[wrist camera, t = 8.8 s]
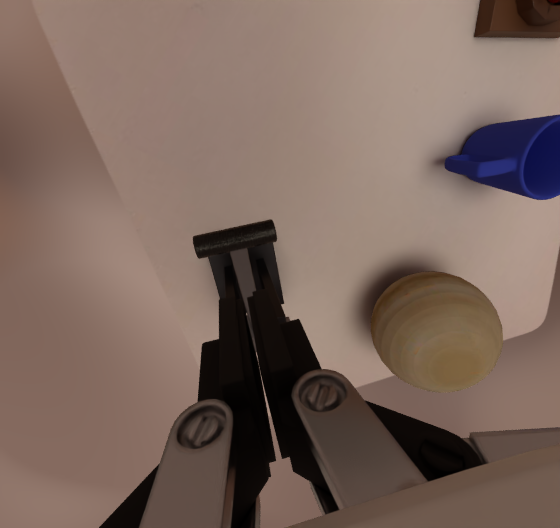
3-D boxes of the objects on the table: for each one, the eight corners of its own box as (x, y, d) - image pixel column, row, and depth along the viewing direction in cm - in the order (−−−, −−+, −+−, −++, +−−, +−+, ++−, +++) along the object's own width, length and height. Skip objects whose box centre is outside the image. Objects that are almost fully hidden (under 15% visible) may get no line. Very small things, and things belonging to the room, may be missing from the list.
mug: (425, 128, 37) (492, 125, 28) (513, 114, 39) (604, 107, 29) (421, 195, 40) (480, 213, 31) (503, 180, 42) (582, 193, 33)
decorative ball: (434, 336, 51) (514, 410, 37) (349, 347, 48) (401, 431, 34) (454, 251, 45) (557, 301, 31) (357, 258, 42) (424, 317, 29)
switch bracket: (206, 245, 38) (200, 306, 24) (269, 231, 38) (297, 283, 25) (225, 313, 42) (229, 397, 28) (282, 299, 43) (312, 375, 29)
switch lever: (191, 226, 19) (193, 253, 18) (269, 209, 20) (277, 234, 18) (233, 334, 30) (236, 357, 28) (283, 322, 30) (289, 343, 29)
